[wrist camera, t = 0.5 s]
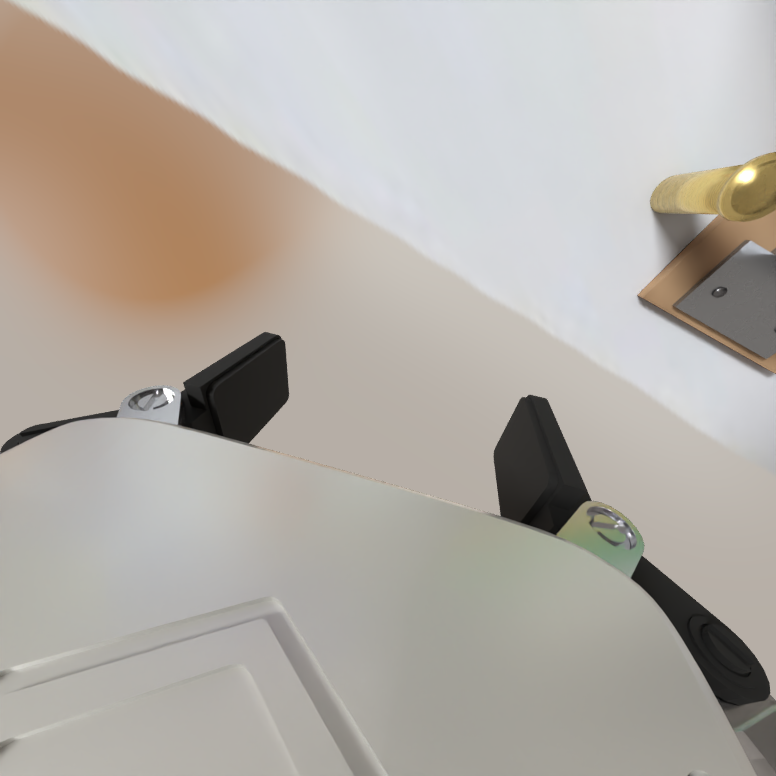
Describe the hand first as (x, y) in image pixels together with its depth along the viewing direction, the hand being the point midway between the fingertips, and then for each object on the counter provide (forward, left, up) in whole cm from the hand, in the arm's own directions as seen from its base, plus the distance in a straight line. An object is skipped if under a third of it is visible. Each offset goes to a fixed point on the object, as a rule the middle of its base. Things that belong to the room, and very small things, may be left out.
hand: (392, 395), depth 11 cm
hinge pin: (-15, +16, -29) cm, 36 cm away
